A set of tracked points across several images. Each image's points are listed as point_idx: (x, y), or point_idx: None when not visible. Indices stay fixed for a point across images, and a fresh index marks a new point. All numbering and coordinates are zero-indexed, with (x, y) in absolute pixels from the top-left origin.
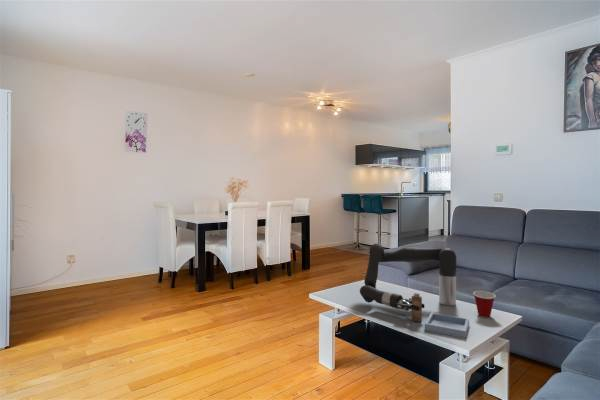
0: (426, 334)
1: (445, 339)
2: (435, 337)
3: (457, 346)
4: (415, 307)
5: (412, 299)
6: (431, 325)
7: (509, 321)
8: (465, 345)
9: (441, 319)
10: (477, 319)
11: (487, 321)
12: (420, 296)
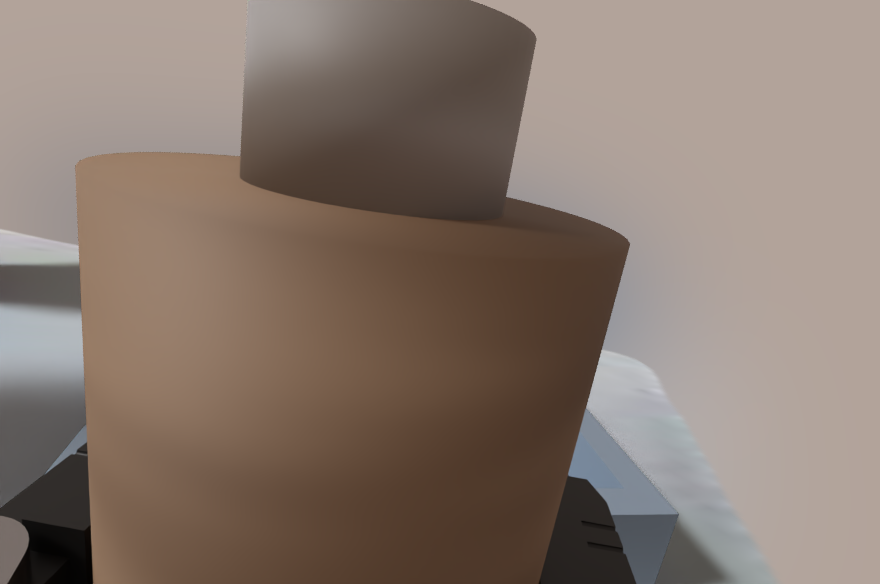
0: (731, 550)
1: (640, 427)
2: (691, 478)
3: (659, 383)
4: (608, 526)
5: (582, 394)
6: (621, 459)
7: (41, 241)
8: (600, 362)
9: None
10: (12, 305)
11: (61, 283)
12: (239, 159)
